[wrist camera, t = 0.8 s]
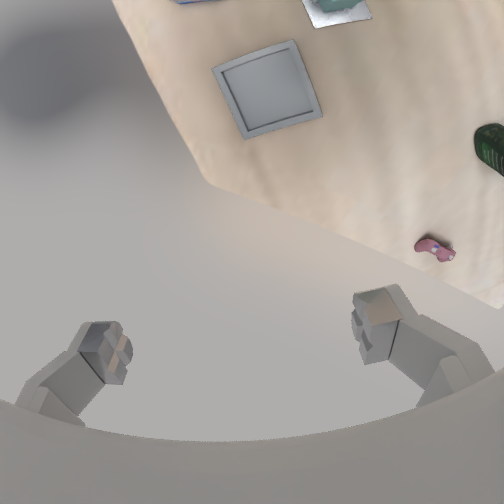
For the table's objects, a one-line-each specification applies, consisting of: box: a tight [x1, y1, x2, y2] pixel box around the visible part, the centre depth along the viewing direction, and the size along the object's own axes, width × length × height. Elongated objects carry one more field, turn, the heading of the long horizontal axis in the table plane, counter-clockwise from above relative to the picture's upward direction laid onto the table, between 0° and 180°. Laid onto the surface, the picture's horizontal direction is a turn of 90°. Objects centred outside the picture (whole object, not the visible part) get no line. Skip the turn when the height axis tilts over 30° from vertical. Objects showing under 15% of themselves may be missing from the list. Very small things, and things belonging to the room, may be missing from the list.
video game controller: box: [415, 238, 456, 262], centre depth 53 cm, size 10×5×7 cm, turn 75°
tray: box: [211, 39, 323, 140], centre depth 40 cm, size 14×14×2 cm
